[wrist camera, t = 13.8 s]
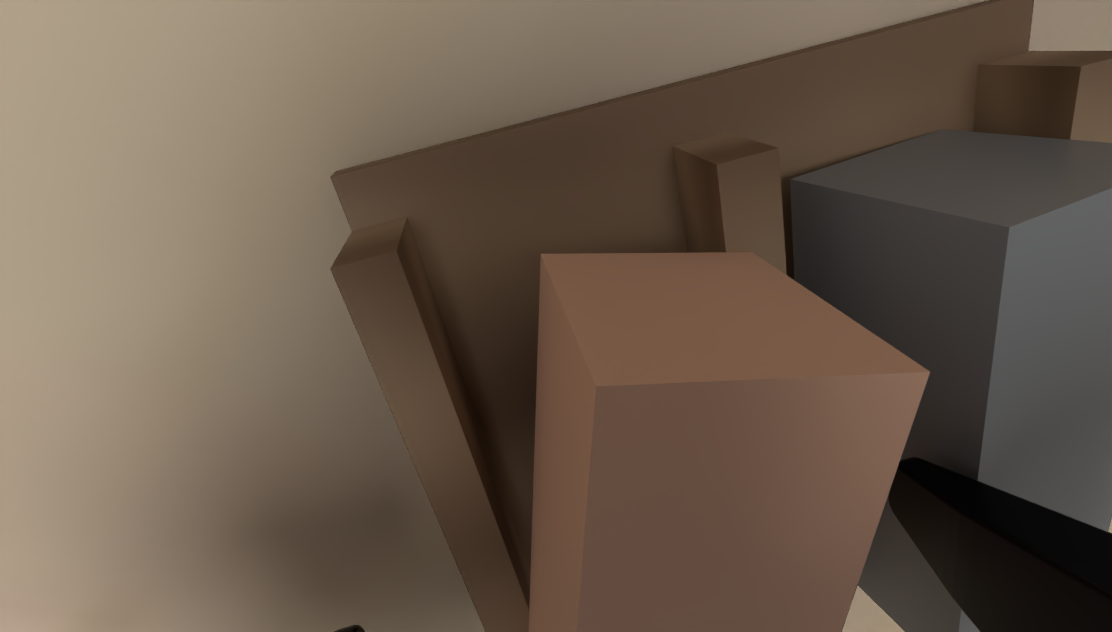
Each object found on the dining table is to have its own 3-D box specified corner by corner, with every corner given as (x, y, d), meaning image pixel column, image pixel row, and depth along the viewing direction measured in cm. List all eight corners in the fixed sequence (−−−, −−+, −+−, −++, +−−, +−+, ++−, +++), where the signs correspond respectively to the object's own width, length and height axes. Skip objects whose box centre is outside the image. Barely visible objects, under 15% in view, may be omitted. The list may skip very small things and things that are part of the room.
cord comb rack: (335, 171, 10) (302, 204, 8) (1011, -6, 11) (1153, -21, 9) (518, 636, 16) (528, 731, 14) (960, 503, 17) (1039, 573, 14)
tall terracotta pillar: (540, 253, 9) (595, 386, 5) (752, 251, 10) (929, 371, 6) (527, 651, 13) (556, 889, 9) (681, 633, 13) (766, 851, 10)
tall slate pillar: (789, 178, 11) (1009, 227, 7) (941, 129, 11) (1210, 150, 8) (805, 534, 15) (952, 678, 11) (917, 480, 15) (1089, 599, 12)
